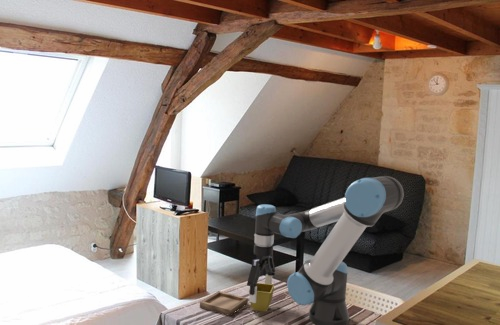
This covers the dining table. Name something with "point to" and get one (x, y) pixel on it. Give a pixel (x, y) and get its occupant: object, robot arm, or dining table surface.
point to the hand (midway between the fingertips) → (260, 296)
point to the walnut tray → (223, 302)
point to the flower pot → (263, 297)
